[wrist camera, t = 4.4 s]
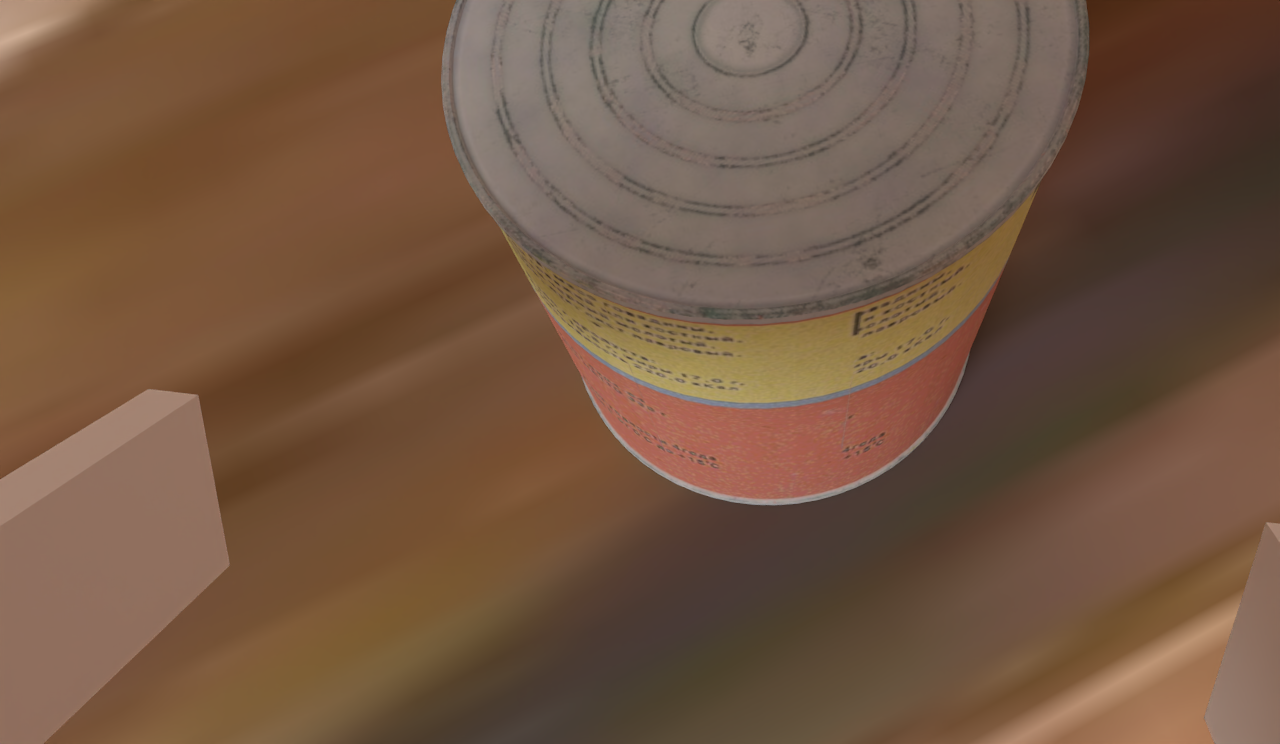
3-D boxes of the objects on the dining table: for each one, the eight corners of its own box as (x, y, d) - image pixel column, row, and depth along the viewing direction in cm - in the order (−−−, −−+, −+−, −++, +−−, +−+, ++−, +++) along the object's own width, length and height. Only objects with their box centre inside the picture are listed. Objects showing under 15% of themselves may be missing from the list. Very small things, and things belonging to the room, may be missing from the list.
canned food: (1060, 351, 27) (1246, 59, 16) (718, 588, 26) (660, 456, 15) (808, 86, 31) (814, -288, 20) (507, 280, 30) (339, -1, 19)
